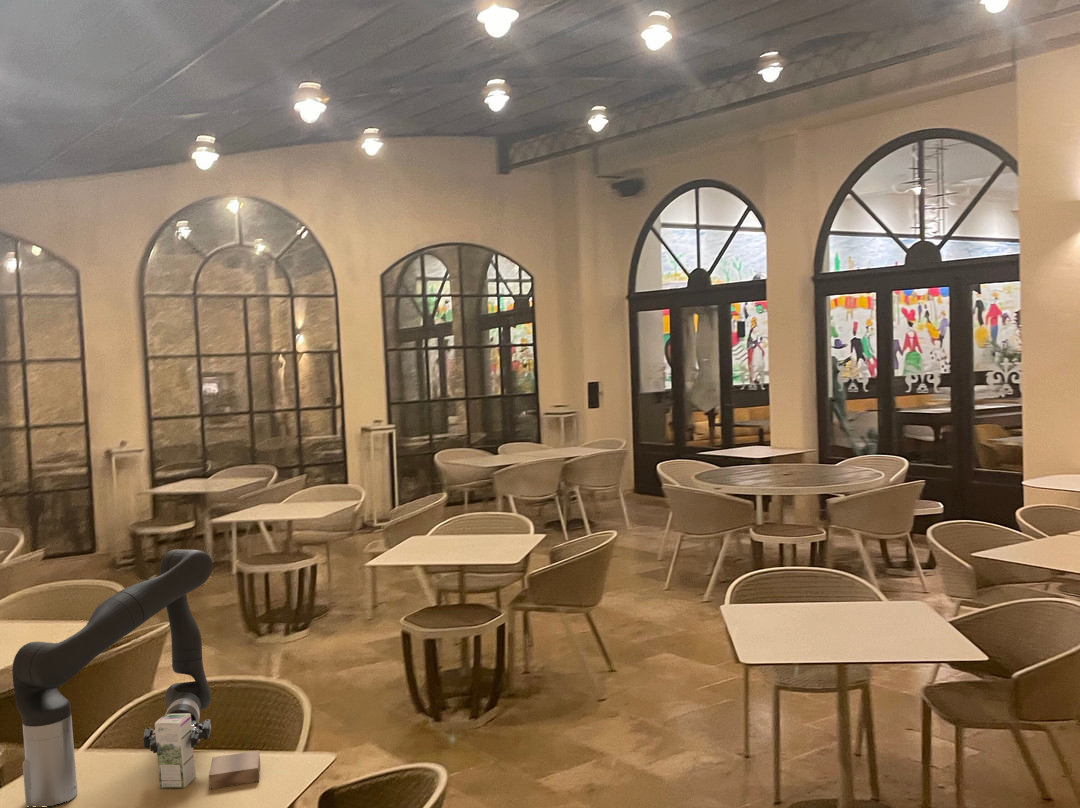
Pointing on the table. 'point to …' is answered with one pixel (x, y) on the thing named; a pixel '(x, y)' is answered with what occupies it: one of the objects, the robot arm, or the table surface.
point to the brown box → (234, 769)
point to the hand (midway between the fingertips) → (173, 745)
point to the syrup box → (175, 750)
